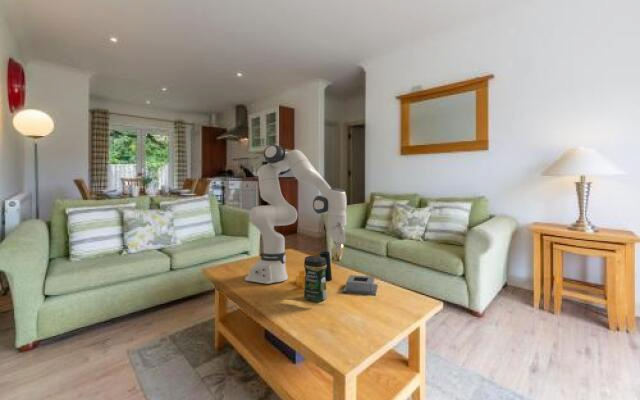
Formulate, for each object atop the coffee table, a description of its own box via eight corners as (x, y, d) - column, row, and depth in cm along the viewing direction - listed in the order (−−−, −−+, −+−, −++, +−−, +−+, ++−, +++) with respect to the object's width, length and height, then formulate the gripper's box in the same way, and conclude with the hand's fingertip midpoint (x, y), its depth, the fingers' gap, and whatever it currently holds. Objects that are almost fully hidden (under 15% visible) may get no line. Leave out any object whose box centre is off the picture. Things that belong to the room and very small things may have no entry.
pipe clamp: (295, 282, 148) (295, 270, 148) (304, 282, 149) (303, 269, 149) (299, 290, 136) (299, 276, 136) (308, 289, 137) (308, 276, 137)
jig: (342, 292, 131) (342, 282, 131) (347, 283, 145) (347, 274, 145) (375, 295, 128) (375, 284, 128) (377, 285, 141) (377, 276, 141)
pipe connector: (314, 286, 143) (312, 256, 142) (309, 283, 148) (307, 255, 147) (333, 280, 149) (331, 252, 148) (328, 278, 154) (326, 250, 153)
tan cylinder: (330, 258, 139) (333, 242, 139) (338, 259, 141) (341, 243, 141) (334, 261, 135) (337, 244, 135) (342, 262, 137) (345, 245, 137)
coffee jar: (301, 299, 123) (300, 256, 123) (311, 294, 130) (311, 253, 130) (319, 303, 118) (319, 259, 118) (329, 298, 125) (329, 255, 124)
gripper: (348, 224, 128) (348, 254, 128) (339, 219, 148) (339, 246, 148) (334, 224, 127) (334, 255, 127) (327, 219, 147) (327, 246, 148)
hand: (337, 250), depth 138 cm, fingers closed on tan cylinder, 4 cm apart
